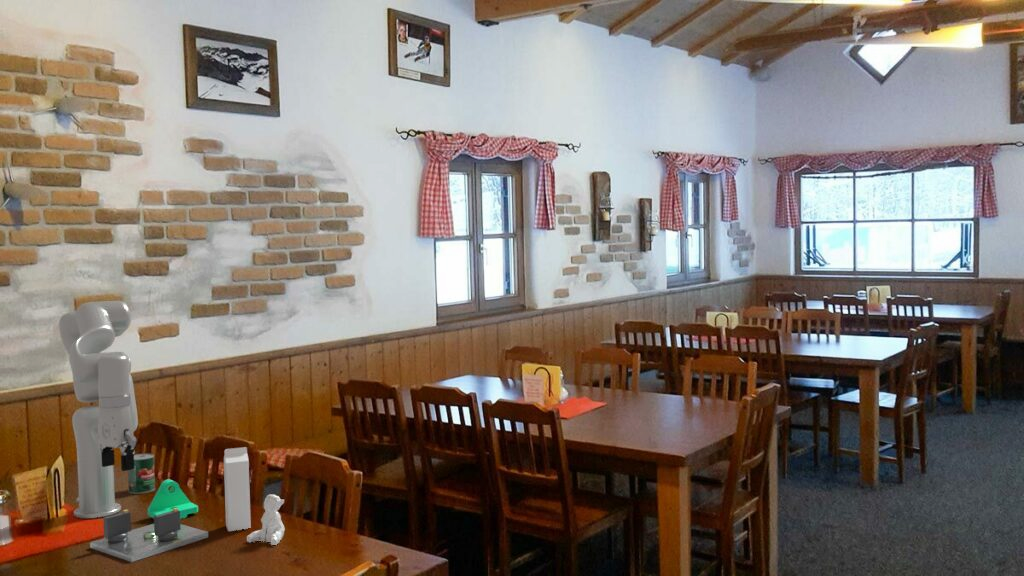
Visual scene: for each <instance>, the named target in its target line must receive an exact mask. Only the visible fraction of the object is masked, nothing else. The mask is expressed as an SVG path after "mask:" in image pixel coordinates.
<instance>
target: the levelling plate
mask: <svg viewBox="0 0 1024 576" xmlns="http://www.w3.org/2000/svg"><path fill="white" fill-rule="evenodd" d="M180 527H181V530H177V531H178V537H177V538H176V539H173V540H169V541H160V540H158V536H156V535H155V533H154V523H151V524H149V525H148V524H147V525H144V526H142V527H138V528H134V529H131V531H130V532H128V539H127V540H125V541H122V542H116V543H111V542H108V538H107V537H104V536H103V538H101V539H100V538H99V539H96V540H93V541H90V542H89V546H90V547H89V548H90V549H91V550H92V549H93V550H95V551H98V552H101V553H103V554H106V555H110V556H113V557H116V558H119V559H121V560H124V561H127V562H130V563H133V562H136V561H140V560H142V559H145V558H148V557H152V556H156V555H158V554H161V553H164V552H167V551H171V550H173V549H176V548H180V547H183V546H186V545H189V544H193V543H196V542H198V541H202V540H204V539H207V538H209V531H207V530H202V529H200V528H195V527H192V526H188V525H185V524H181V523H180Z"/></svg>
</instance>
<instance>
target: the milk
mask: <svg viewBox="0 0 1024 576" xmlns="http://www.w3.org/2000/svg"><path fill="white" fill-rule="evenodd" d="M223 452H224V456H223V477H224V479H223V480H224V501H225V503H224V504H225V505H224V507H225V526H226V529H227V532H233V531H234V532H235V531H236V530H237V531H243V530H242V529H244V530H249V529H248V528H252V526H251V523H252V522H251V521H252V520H251V519H252V518H251V496H250V493H251V492H250V469H249V468H250V461H249V455H248V447H246V446H245V447H234V448H226V449H225V450H224V451H223Z"/></svg>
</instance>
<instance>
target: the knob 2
mask: <svg viewBox="0 0 1024 576" xmlns="http://www.w3.org/2000/svg"><path fill="white" fill-rule="evenodd" d="M153 524H154V533H155V535H156V536H158V540H160V541H169V540H173V539H176V538H177V537H178V531H177V530H181V527H180V524H181V519H180V511H179V510H178V508H174V509H173V511H170V512H166V513H162V514H159V515H155V516H154V519H153Z"/></svg>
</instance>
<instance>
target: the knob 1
mask: <svg viewBox="0 0 1024 576" xmlns="http://www.w3.org/2000/svg"><path fill="white" fill-rule="evenodd" d="M102 519H103V521H102V522H103V538H104V537H107V538H108V542H111V543H116V542H122V541H125V540H127V539H128V532H130V531H131V530H132V526H131V524H132V522H131V521H132V520H131V511H129V509H123V510H122V512H117V513H115V514H112V515H108V516H104V517H102Z"/></svg>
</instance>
